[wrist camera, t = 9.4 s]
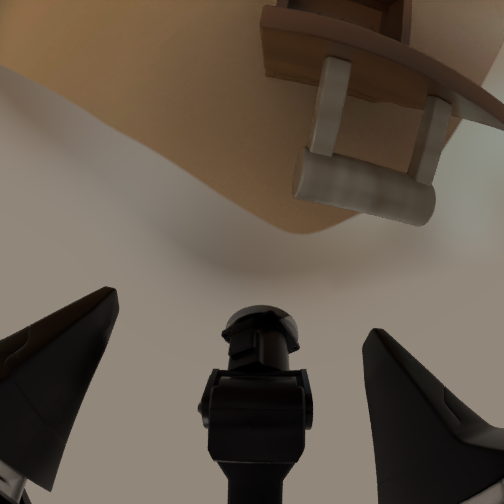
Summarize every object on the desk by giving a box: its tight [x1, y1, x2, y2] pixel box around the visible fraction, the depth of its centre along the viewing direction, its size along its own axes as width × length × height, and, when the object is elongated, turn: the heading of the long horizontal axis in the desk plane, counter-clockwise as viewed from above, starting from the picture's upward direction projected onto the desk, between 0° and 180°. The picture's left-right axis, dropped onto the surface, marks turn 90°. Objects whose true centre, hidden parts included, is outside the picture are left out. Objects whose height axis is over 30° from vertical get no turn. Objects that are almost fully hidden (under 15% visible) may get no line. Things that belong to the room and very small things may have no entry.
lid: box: [260, 5, 504, 226], centre depth 9 cm, size 9×8×5 cm
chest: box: [265, 0, 412, 103], centre depth 12 cm, size 8×8×5 cm
